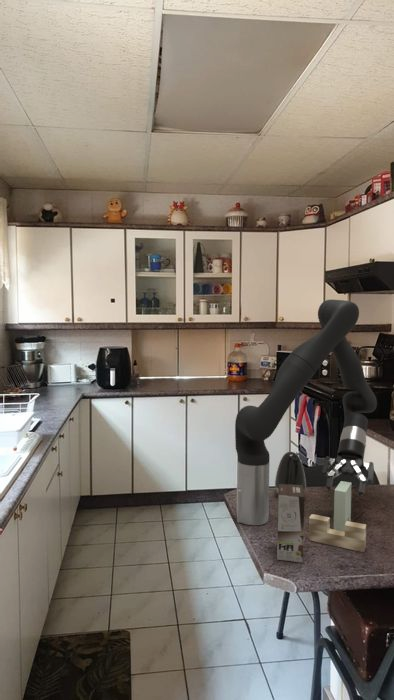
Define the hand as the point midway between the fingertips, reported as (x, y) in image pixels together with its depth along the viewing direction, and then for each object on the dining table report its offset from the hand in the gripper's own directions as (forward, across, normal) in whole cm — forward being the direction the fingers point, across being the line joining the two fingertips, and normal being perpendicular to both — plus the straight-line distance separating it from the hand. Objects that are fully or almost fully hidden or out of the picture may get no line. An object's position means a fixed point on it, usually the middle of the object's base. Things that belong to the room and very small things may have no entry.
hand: (344, 492), depth 133 cm
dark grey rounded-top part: (-4, -20, +17) cm, 27 cm away
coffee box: (+24, -9, -10) cm, 27 cm away
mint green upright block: (+8, 0, +5) cm, 10 cm away
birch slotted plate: (+16, +1, -3) cm, 16 cm away
